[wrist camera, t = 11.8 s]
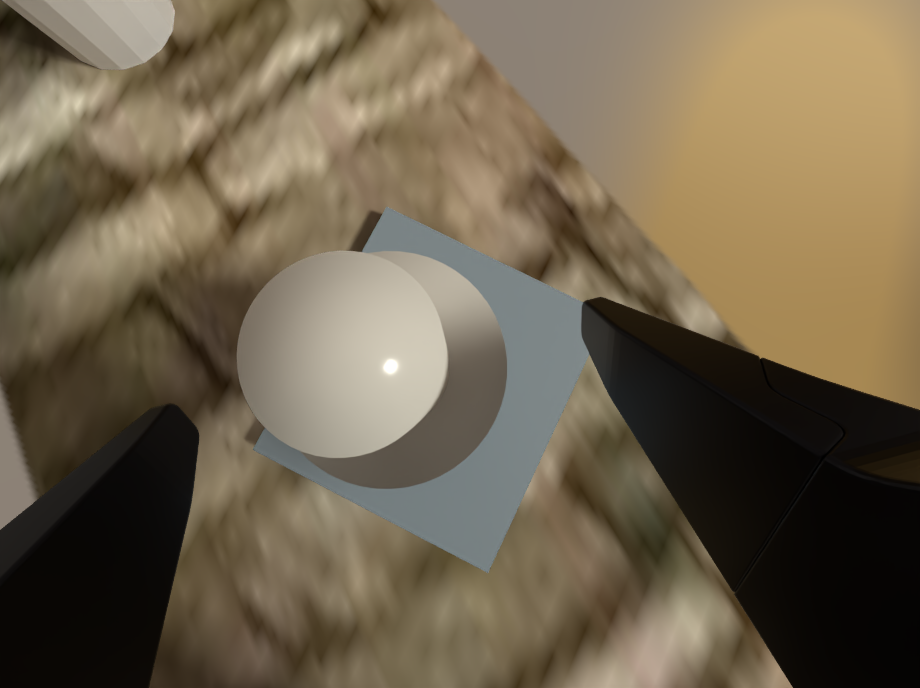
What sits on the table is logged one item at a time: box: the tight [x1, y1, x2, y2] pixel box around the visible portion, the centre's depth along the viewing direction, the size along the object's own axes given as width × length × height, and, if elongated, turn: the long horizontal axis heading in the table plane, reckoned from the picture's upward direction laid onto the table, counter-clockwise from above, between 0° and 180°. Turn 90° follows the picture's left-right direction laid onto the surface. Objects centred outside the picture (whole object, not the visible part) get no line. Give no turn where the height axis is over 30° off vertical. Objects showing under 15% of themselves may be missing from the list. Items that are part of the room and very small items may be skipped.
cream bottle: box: [237, 251, 507, 489], centre depth 11 cm, size 5×5×12 cm
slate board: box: [253, 207, 589, 573], centre depth 18 cm, size 12×11×1 cm
